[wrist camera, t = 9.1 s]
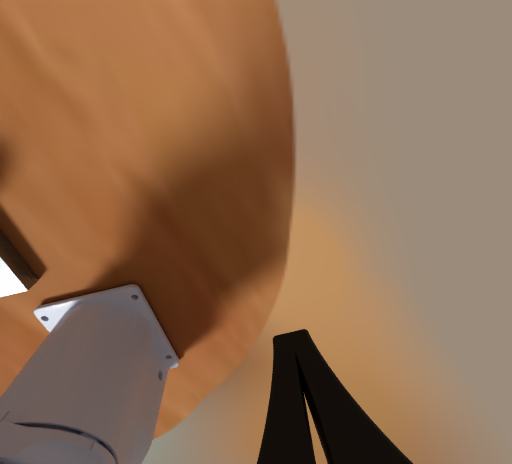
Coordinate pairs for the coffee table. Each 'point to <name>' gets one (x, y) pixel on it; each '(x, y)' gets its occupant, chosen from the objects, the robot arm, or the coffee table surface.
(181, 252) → the coffee table surface
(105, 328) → the robot arm
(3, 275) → the plate
